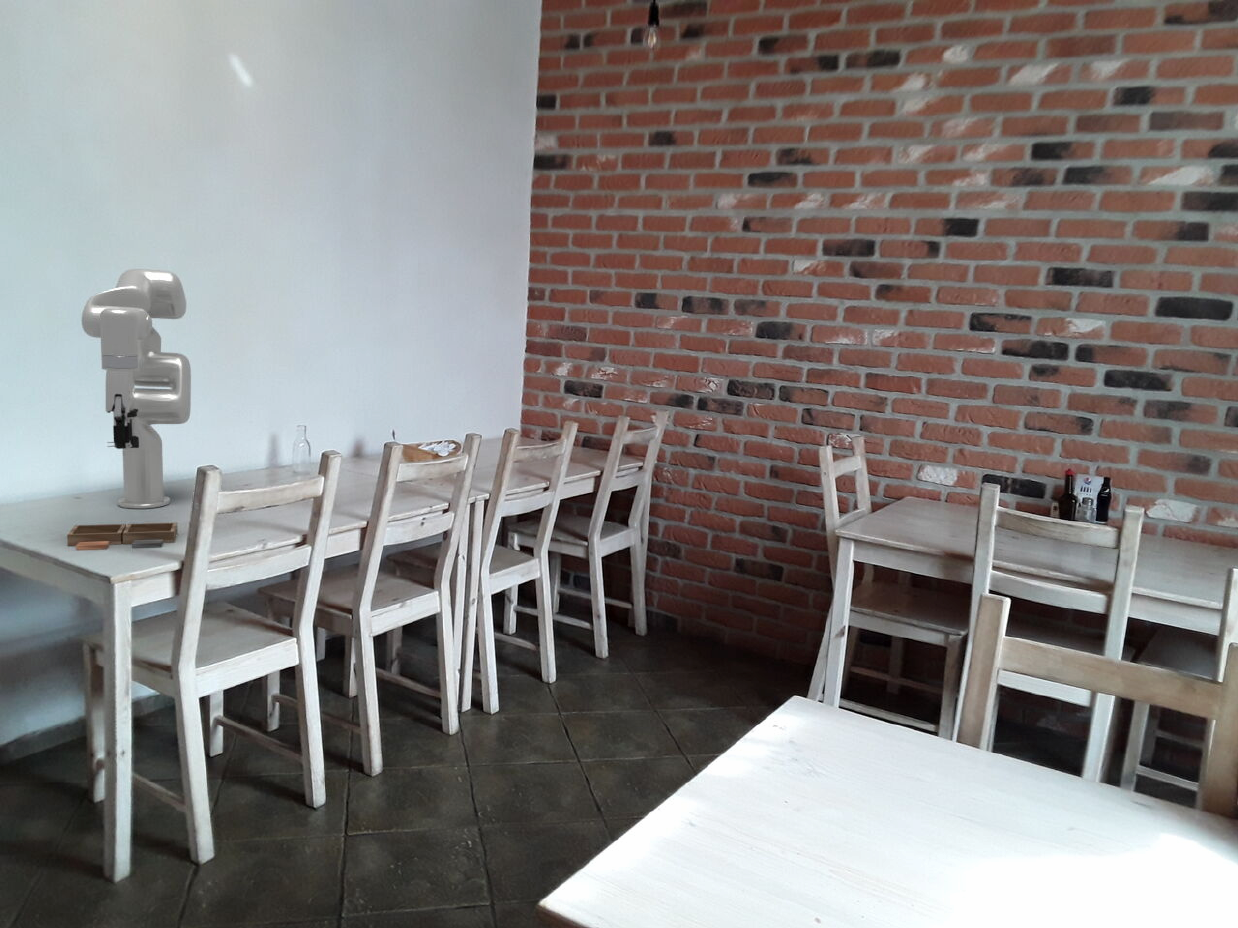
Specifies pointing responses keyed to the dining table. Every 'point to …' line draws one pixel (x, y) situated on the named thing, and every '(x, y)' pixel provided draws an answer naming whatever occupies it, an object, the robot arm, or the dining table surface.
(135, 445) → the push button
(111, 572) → the dining table surface
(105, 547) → the terracotta tag dock
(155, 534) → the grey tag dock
